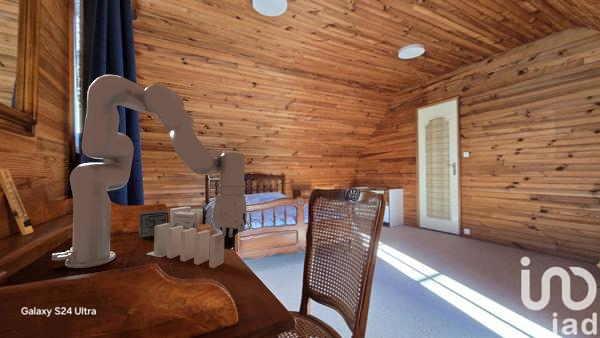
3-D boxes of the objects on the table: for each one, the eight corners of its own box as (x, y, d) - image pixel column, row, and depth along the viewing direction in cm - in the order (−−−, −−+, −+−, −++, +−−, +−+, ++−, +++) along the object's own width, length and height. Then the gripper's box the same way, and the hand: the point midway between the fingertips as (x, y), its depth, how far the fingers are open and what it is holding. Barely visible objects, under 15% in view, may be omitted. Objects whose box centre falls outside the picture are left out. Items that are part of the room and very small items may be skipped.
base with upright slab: (177, 238, 112) (178, 210, 111) (164, 234, 116) (165, 208, 116) (195, 233, 119) (196, 207, 119) (182, 230, 124) (183, 205, 124)
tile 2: (194, 263, 85) (195, 233, 84) (204, 258, 89) (205, 230, 89) (198, 264, 84) (199, 234, 84) (208, 259, 89) (210, 230, 89)
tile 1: (209, 267, 82) (210, 235, 82) (219, 261, 87) (220, 232, 87) (213, 268, 82) (214, 236, 82) (223, 262, 87) (224, 233, 86)
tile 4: (166, 257, 89) (167, 228, 89) (178, 253, 94) (179, 225, 93) (170, 258, 88) (171, 229, 88) (182, 254, 93) (183, 226, 93)
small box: (164, 232, 120) (165, 209, 120) (168, 235, 115) (169, 211, 115) (138, 235, 113) (139, 211, 113) (140, 238, 108) (141, 214, 108)
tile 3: (180, 260, 87) (181, 230, 87) (191, 255, 91) (192, 227, 91) (184, 261, 86) (185, 231, 86) (195, 256, 91) (196, 228, 91)
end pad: (146, 254, 91) (146, 253, 91) (163, 248, 98) (163, 248, 98) (160, 257, 89) (160, 257, 89) (177, 251, 95) (177, 251, 95)
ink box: (171, 241, 106) (172, 213, 106) (178, 238, 111) (179, 211, 111) (191, 243, 105) (192, 214, 105) (197, 239, 110) (198, 212, 110)
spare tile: (169, 250, 95) (170, 223, 95) (157, 254, 90) (158, 226, 90) (165, 249, 96) (166, 223, 96) (153, 254, 91) (154, 225, 91)
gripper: (204, 190, 82) (202, 247, 82) (245, 194, 76) (242, 255, 76) (219, 188, 89) (217, 241, 89) (257, 191, 83) (255, 248, 84)
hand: (229, 248), depth 83 cm, fingers closed
